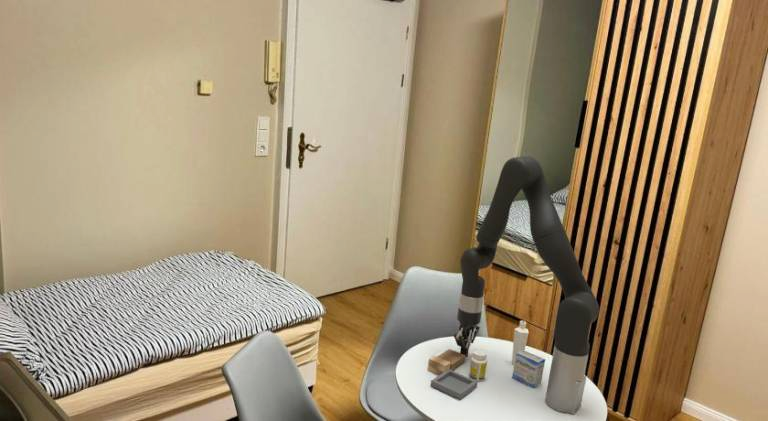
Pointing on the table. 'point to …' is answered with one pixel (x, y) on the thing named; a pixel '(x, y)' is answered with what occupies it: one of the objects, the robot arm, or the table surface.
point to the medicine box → (528, 368)
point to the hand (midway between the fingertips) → (463, 356)
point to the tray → (454, 384)
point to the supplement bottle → (478, 365)
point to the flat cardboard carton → (453, 358)
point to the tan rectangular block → (438, 365)
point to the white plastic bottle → (519, 339)
